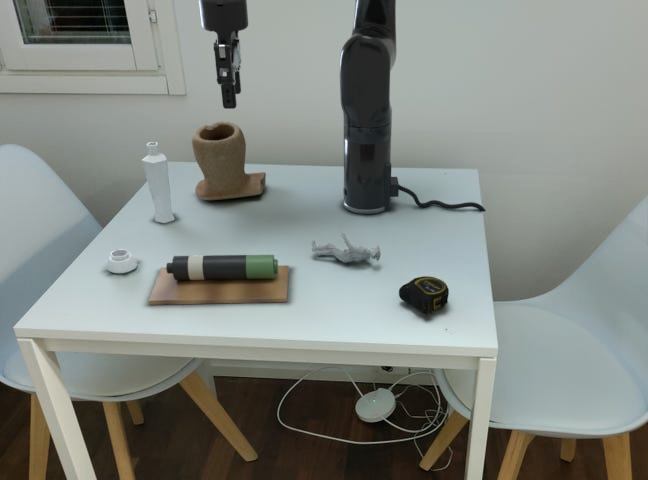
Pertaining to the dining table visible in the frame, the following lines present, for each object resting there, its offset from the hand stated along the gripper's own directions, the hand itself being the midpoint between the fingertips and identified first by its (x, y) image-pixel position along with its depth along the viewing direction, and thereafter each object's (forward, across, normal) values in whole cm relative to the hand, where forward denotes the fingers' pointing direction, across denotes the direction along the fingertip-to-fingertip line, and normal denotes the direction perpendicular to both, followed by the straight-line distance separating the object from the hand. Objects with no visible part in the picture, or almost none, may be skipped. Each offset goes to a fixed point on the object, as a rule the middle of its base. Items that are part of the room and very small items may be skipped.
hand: (232, 100), depth 121 cm
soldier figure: (+24, +14, +19) cm, 34 cm away
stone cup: (+24, -16, -4) cm, 29 cm away
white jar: (+24, +15, -20) cm, 35 cm away
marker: (+23, +22, -2) cm, 32 cm away
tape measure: (+24, +30, +31) cm, 50 cm away
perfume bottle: (+24, -5, -16) cm, 30 cm away
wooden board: (+24, +22, -2) cm, 33 cm away
